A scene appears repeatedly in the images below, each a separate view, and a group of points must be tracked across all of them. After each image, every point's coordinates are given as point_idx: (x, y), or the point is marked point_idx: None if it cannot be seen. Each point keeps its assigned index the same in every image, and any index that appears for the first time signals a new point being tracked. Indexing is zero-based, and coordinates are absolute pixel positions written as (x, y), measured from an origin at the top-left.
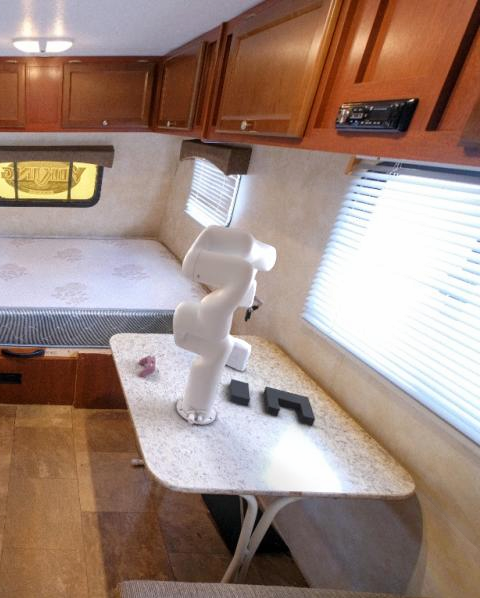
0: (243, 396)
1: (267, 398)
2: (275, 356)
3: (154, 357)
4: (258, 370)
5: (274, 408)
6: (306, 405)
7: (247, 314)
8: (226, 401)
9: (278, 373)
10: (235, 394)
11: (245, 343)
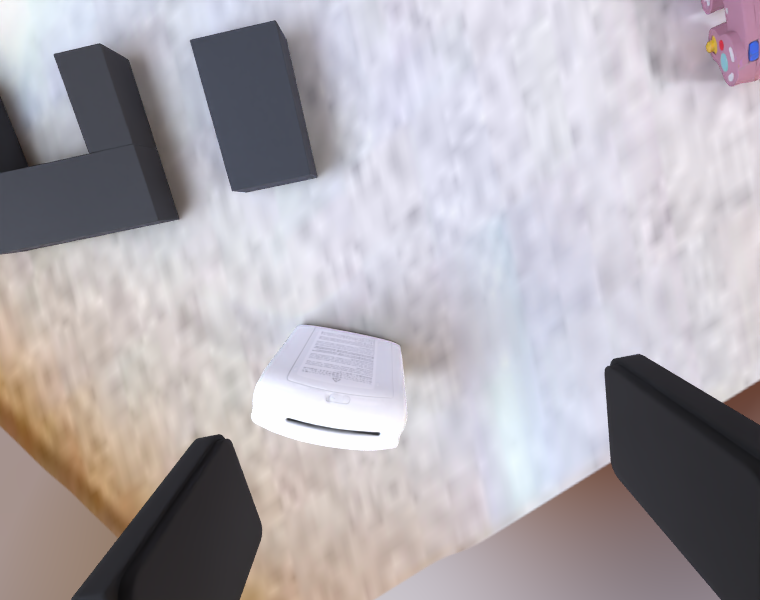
0: (222, 45)
1: (126, 117)
2: None
3: (750, 40)
4: (239, 383)
5: (78, 50)
6: None
7: (153, 540)
8: (298, 27)
9: (165, 412)
10: (259, 35)
11: (282, 412)
